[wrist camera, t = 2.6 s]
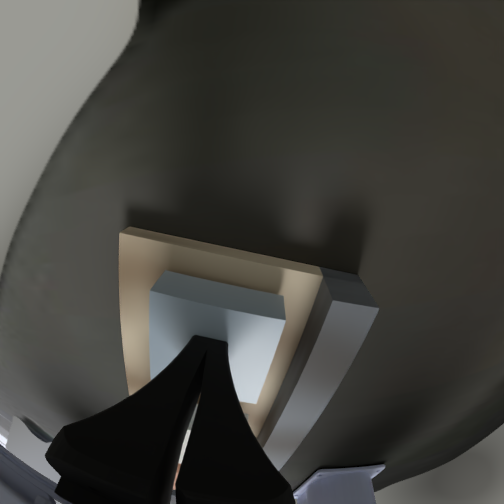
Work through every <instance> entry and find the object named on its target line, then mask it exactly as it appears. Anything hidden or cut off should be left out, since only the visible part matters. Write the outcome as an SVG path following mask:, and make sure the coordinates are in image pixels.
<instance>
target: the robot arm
mask: <svg viewBox="0 0 504 504" xmlns="http://www.w3.org/2000/svg"><path fill="white" fill-rule="evenodd" d="M200 393H201V394H200ZM199 396H200V399H199ZM198 399H199V403H198V407H197V410H196V414H195V418H194V421H193V425H192V428H191V432H190V435H189V439H188V442H187V446H186V449H185V453H184V456H183V460H182V463H181V466H180V470H179V473H178V476H177V479H176V483H175V490H176V504H295V499H296V498H297V504H376V501H375V496H374V491H373V486H372V481H371V479H372V478H373V477H374V476H376V475H377V474H378V473H379V472H381V471H382V470H383V469H384V468H385V465H384V464H381V465H374V466H365V467H354V468H339V469H320V470H318V471H316V472H315V473H314V474H313V475H312V476H311V477H310V478H309V479H308V480H307V481H306V482H304V483H303V484H302V485H301V486H300V487H299V488H298V489H296V490H295V491H294V492H292V489H291V486H290V484H289V483H288V482H287V481H286V480H285V478H284V477H283V476H282V475H281V474H280V472H279V471H278V470H277V469H276V467H275V466H274V465H273V463H272V462H271V461H270V459H269V458H268V456H267V455H266V453H265V452H264V450H263V449H262V447H261V445H260V444H259V442H258V440H257V439H256V437H255V435H254V433H253V432H252V430H251V428H250V426H249V424H248V422H247V419H246V417H245V415H244V412H243V410H242V407H241V405H240V402H239V399H238V396H237V393H236V390H235V387H234V383H233V379H232V374H231V370H230V364H229V356H228V343H227V342H226V341H222V340H217V339H213V338H208V337H204V336H199V335H194V336H192V338H191V339H190V341H189V342H188V343H187V345H186V346H185V347H184V348H183V349H182V351H181V352H180V353H179V354H178V355H177V356H176V357H175V358H174V359H173V360H172V361H171V362H170V364H169V365H168V366H167V367H165V368H164V369H163V370H162V371H161V372H160V373H159V374H158V375H157V376H156V377H154V378H153V379H152V380H151V381H150V382H148V383H147V384H146V385H145V386H143V387H142V388H141V389H139V390H138V391H136V392H135V393H134V394H132V395H130V396H129V397H127V398H126V399H124V400H123V401H121V402H119V403H118V404H116V405H114V406H112V407H110V408H108V409H106V410H104V411H102V412H100V413H98V414H96V415H94V416H91V417H89V418H86V419H83V420H81V421H78V422H75V423H72V424H69V425H66V426H64V427H63V428H62V429H61V430H60V432H59V433H58V434H57V435H56V437H55V438H54V439H53V441H52V443H51V445H50V447H49V448H48V451H47V452H46V454H45V458H46V460H47V461H48V463H49V464H50V465H51V466H52V467H53V468H54V469H55V470H56V471H57V472H58V473H59V475H60V476H61V478H60V480H59V482H58V484H56V483H55V482H53V481H51V480H50V479H48V478H47V477H45V476H43V475H42V474H40V473H39V472H37V471H36V470H34V469H32V468H31V467H30V466H28V465H27V464H25V463H24V462H23V461H21V460H20V459H18V458H17V457H16V456H14V455H13V454H12V453H10V452H9V451H8V450H7V449H5V448H4V447H3V446H2V445H0V504H56V502H55V500H57V501H58V502H60V503H62V504H170V500H171V495H172V490H173V485H174V481H175V476H176V472H177V467H178V463H179V458H180V454H181V450H182V445H183V442H184V438H185V435H186V432H187V430H188V427H189V424H190V421H191V418H192V416H193V413H194V410H195V407H196V405H197V402H198ZM54 499H55V500H54Z"/></svg>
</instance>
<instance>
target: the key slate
mask: <svg viewBox="0 0 504 504" xmlns="http://www.w3.org/2000/svg"><path fill="white" fill-rule="evenodd" d="M285 322H286V315H285V305H284V296H283V295H277V294H272V293H267V292H262V291H257V290H253V289H248V288H243V287H238V286H233V285H229V284H224V283H220V282H215V281H210V280H206V279H202V278H197V277H193V276H188V275H184V274H180V273H175V272H171V271H167V270H165V271H164V272H163V274H162V275H161V276H160V278H159V279H158V280H157V282H156V283H155V284H154V285H153V287H152V288H151V289H150V295H149V353H150V377H151V380H152V379H153V378H154V377H156V376H157V375H158V374H159V373H160V372H161V371H162V370H163V369H164V368H165V367H167V366H168V365H169V364H170V362H171V361H172V360H173V359H174V358H175V357H176V356H177V355H178V354H179V353H180V352H181V351H182V349H183V348H184V347H185V346H186V345H187V343H188V342H189V341H190V339H191V338H192V336H194V335H199V336H204V337H208V338H213V339H217V340H222V341H226V342H227V343H228V356H229V364H230V370H231V374H232V379H233V383H234V387H235V390H236V393H237V396H238V399H239V401H240V402H246V403H253V404H256V403H257V400H258V398H259V395H260V392H261V390H262V387H263V384H264V382H265V379H266V376H267V374H268V371H269V368H270V365H271V363H272V360H273V357H274V354H275V351H276V348H277V346H278V343H279V340H280V337H281V334H282V331H283V328H284V325H285Z"/></svg>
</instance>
